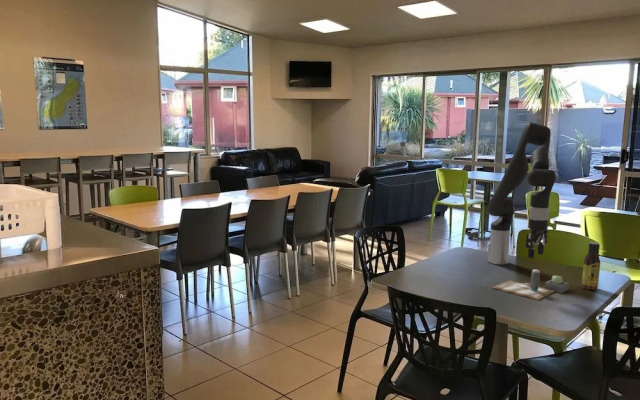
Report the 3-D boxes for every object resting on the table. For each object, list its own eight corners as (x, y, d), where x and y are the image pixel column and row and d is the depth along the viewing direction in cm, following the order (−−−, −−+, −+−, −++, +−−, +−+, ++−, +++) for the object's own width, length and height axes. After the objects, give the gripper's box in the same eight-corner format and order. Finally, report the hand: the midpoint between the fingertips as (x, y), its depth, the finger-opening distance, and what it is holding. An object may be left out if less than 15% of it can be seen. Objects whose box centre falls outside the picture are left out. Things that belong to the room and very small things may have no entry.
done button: (550, 284, 220) (550, 276, 219) (554, 282, 222) (554, 274, 222) (559, 286, 217) (560, 278, 216) (563, 284, 220) (564, 276, 219)
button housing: (544, 289, 220) (545, 282, 220) (551, 285, 225) (552, 279, 224) (561, 293, 215) (561, 286, 215) (568, 289, 220) (568, 282, 219)
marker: (528, 290, 217) (530, 270, 215) (532, 288, 219) (534, 268, 217) (536, 292, 214) (538, 272, 213) (539, 290, 216) (541, 270, 215)
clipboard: (492, 288, 221) (492, 286, 221) (509, 281, 231) (509, 278, 231) (538, 300, 206) (538, 297, 206) (554, 292, 216) (554, 289, 216)
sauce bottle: (591, 291, 217) (595, 245, 214) (578, 287, 223) (581, 242, 220) (601, 289, 220) (605, 243, 217) (587, 285, 226) (591, 240, 223)
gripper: (537, 214, 219) (534, 251, 222) (521, 218, 210) (518, 257, 212) (555, 216, 214) (552, 254, 216) (539, 221, 204) (536, 261, 207)
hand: (535, 256), depth 214 cm, fingers open, 8 cm apart
